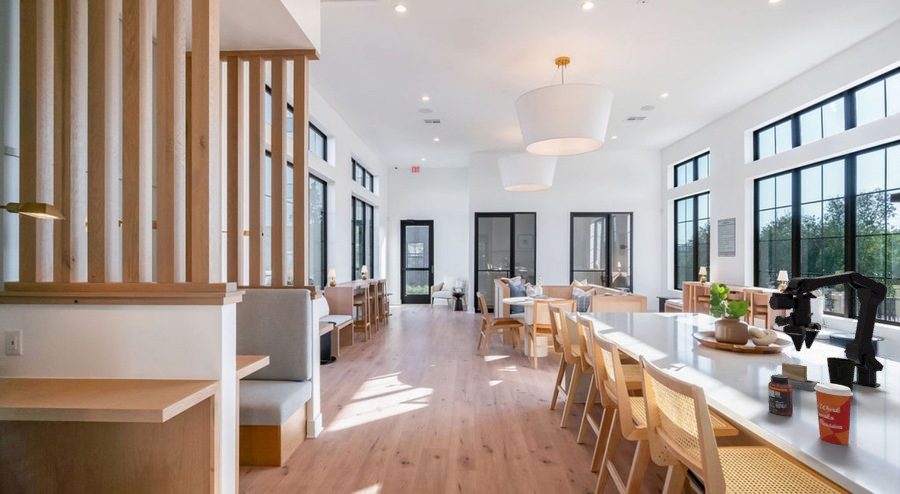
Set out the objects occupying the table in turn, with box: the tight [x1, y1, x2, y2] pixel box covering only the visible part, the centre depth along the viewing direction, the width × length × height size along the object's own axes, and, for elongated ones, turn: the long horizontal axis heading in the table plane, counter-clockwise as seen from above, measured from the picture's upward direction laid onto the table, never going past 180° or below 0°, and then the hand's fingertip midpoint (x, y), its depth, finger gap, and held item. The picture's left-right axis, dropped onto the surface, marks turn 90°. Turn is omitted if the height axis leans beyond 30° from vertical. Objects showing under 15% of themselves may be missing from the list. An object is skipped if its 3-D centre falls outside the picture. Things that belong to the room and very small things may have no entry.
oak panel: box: [781, 362, 808, 383], centre depth 166 cm, size 2×7×7 cm, turn 30°
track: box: [770, 373, 821, 392], centre depth 166 cm, size 7×13×2 cm, turn 31°
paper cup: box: [814, 382, 854, 446], centre depth 114 cm, size 8×8×14 cm
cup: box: [826, 356, 856, 393], centre depth 156 cm, size 8×8×12 cm
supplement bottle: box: [767, 374, 794, 417], centre depth 135 cm, size 6×6×11 cm
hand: (803, 349), depth 171 cm, fingers open, 9 cm apart
